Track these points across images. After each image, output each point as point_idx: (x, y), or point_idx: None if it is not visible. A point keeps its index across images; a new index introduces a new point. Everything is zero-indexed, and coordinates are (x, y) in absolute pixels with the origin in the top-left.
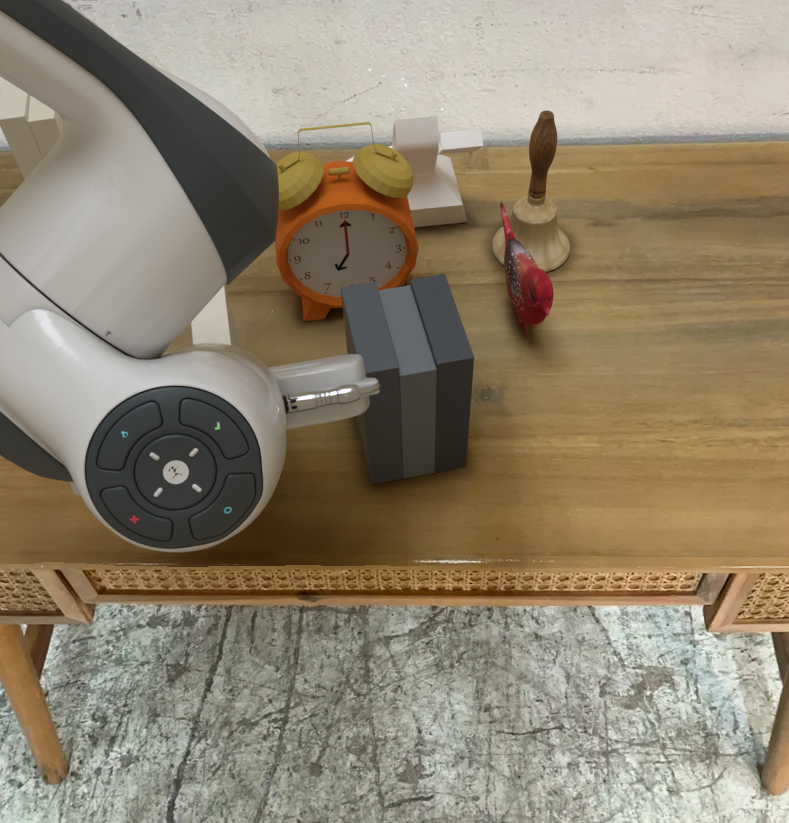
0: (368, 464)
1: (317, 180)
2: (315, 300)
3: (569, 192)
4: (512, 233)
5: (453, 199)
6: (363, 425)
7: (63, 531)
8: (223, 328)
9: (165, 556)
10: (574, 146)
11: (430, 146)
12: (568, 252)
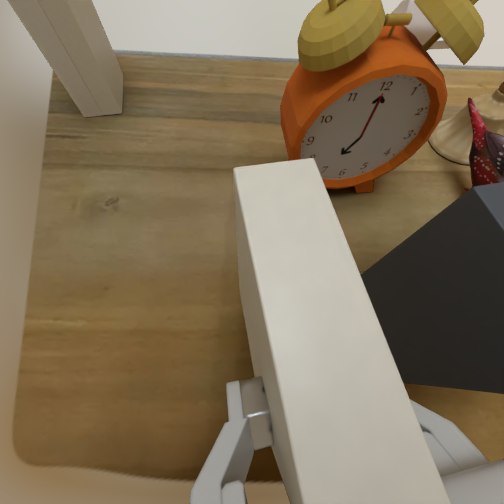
0: None
1: (381, 23)
2: None
3: None
4: (485, 127)
5: None
6: (424, 357)
7: (73, 434)
8: (367, 334)
9: (183, 475)
10: (462, 69)
11: (431, 31)
12: None
